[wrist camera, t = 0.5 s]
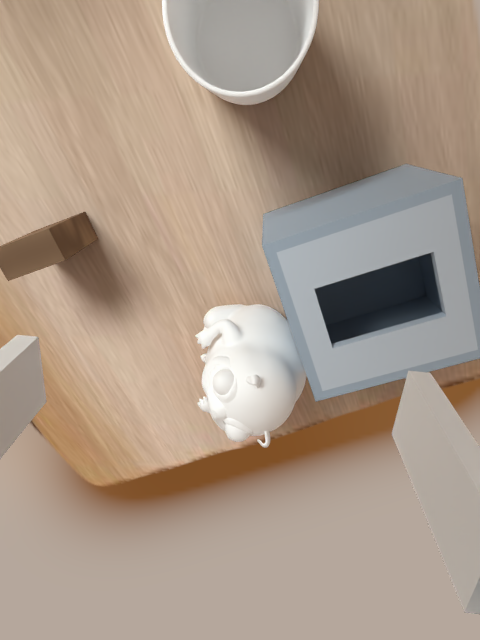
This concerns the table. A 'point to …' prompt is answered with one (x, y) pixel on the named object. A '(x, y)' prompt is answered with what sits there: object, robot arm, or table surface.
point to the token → (46, 246)
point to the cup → (241, 43)
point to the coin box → (377, 279)
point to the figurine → (249, 370)
